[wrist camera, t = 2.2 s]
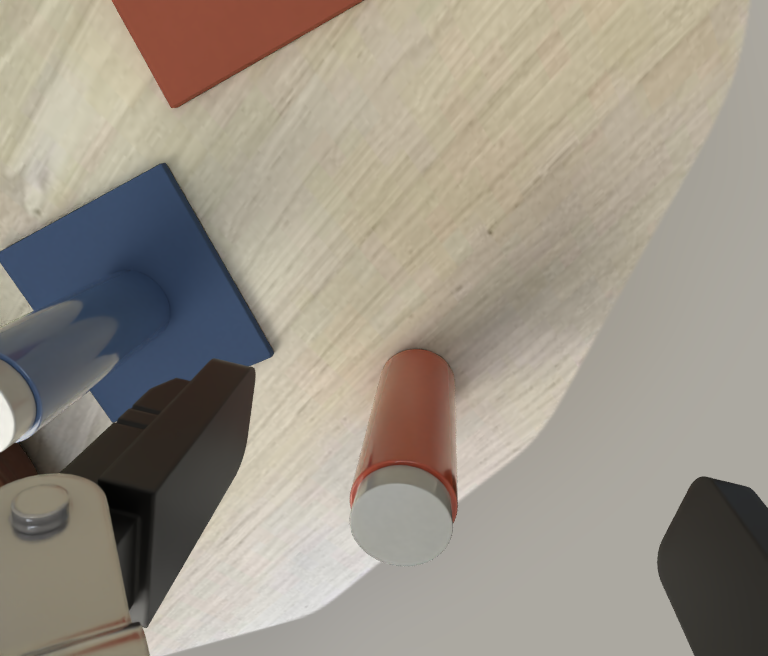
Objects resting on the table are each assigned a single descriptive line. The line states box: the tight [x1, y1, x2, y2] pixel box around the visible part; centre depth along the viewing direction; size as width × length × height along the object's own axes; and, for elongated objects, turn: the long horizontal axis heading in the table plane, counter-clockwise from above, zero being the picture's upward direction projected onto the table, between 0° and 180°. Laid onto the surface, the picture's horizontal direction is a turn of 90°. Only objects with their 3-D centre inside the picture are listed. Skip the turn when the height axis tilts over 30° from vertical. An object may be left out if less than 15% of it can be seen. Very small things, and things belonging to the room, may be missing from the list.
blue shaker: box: [0, 270, 170, 453], centre depth 27 cm, size 4×4×12 cm
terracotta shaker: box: [350, 349, 458, 566], centre depth 27 cm, size 4×4×12 cm
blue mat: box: [0, 163, 274, 422], centre depth 33 cm, size 12×12×1 cm
